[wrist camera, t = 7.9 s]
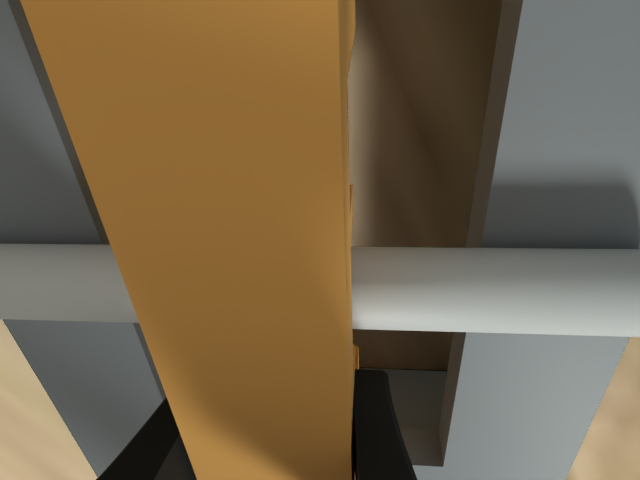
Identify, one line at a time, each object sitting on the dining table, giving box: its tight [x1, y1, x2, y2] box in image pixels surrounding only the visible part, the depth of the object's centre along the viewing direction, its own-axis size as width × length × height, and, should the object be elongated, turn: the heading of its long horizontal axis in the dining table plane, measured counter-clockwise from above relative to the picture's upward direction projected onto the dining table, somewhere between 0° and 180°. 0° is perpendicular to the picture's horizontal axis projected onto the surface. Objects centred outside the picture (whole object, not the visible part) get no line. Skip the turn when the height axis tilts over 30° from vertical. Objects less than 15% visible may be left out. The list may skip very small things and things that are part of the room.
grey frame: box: [0, 0, 640, 480], centre depth 11 cm, size 15×22×6 cm
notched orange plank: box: [20, 0, 359, 480], centre depth 9 cm, size 12×3×5 cm, turn 3°
